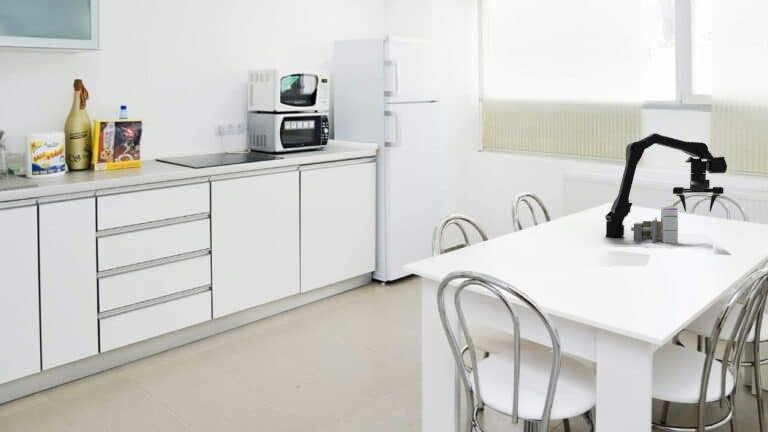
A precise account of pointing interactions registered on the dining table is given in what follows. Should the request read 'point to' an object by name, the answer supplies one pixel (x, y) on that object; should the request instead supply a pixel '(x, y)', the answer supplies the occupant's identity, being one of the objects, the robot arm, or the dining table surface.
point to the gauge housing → (640, 234)
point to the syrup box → (669, 224)
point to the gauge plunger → (650, 229)
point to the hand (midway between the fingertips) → (697, 211)
